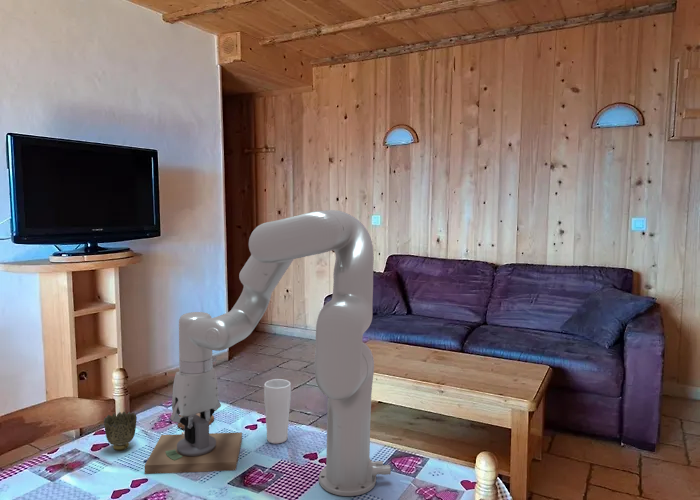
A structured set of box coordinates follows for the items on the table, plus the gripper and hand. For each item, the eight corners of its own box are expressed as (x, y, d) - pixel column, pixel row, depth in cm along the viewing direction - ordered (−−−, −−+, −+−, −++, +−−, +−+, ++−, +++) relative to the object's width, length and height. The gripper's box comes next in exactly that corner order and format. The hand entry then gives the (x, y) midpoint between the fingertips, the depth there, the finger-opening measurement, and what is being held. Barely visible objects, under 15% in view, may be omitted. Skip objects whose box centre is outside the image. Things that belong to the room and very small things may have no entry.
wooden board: (241, 439, 131) (242, 431, 131) (235, 470, 116) (235, 461, 116) (161, 442, 129) (161, 434, 129) (144, 473, 114) (144, 464, 114)
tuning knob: (223, 447, 123) (223, 419, 122) (189, 460, 116) (188, 430, 116) (199, 432, 130) (199, 405, 130) (165, 444, 124) (165, 416, 123)
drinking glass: (277, 448, 127) (277, 390, 126) (258, 440, 131) (258, 383, 130) (295, 438, 132) (296, 382, 131) (277, 431, 137) (277, 377, 135)
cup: (137, 453, 123) (136, 421, 123) (103, 458, 121) (102, 425, 120) (137, 439, 130) (137, 409, 130) (105, 444, 128) (104, 413, 127)
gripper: (217, 354, 129) (217, 424, 131) (155, 368, 117) (156, 445, 119) (234, 361, 124) (234, 434, 126) (171, 376, 112) (172, 457, 114)
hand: (196, 439), depth 122 cm, fingers closed on tuning knob, 2 cm apart
